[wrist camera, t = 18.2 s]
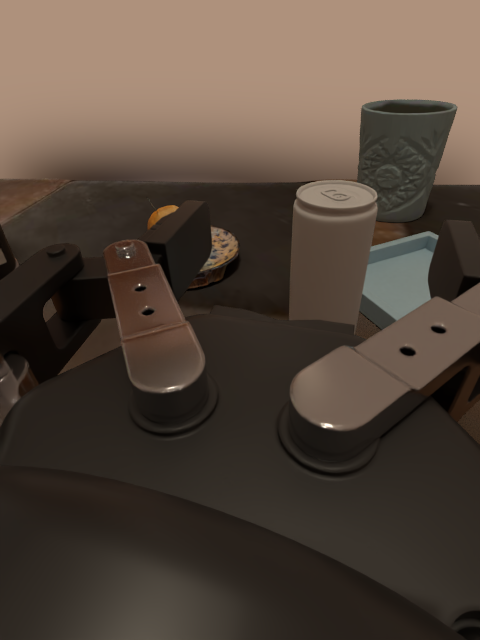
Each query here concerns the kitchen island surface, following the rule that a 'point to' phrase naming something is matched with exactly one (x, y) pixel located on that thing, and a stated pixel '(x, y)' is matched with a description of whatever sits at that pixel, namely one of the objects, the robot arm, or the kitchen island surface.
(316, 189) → the beverage can
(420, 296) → the tray
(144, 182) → the kitchen island surface
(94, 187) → the kitchen island surface
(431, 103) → the green embossed cup
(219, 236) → the burger
